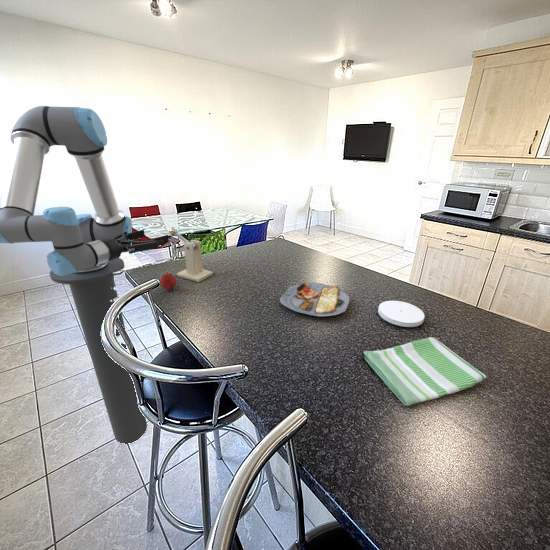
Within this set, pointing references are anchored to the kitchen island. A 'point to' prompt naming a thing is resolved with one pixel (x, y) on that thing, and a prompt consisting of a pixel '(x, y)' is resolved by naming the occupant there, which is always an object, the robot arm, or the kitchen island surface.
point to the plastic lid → (401, 313)
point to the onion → (168, 281)
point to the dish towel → (422, 370)
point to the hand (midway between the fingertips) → (155, 235)
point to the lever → (174, 231)
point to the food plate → (315, 299)
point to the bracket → (194, 263)
